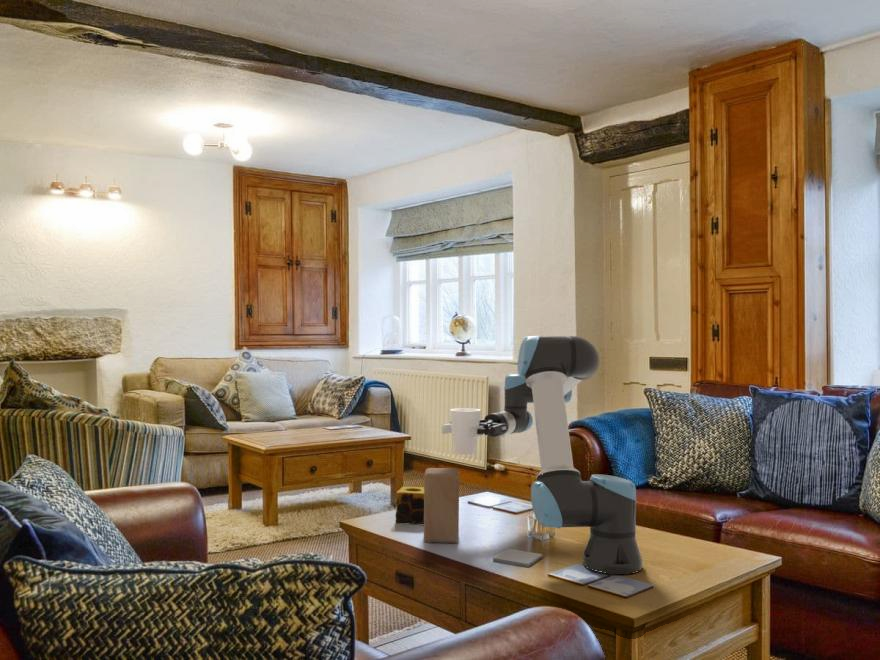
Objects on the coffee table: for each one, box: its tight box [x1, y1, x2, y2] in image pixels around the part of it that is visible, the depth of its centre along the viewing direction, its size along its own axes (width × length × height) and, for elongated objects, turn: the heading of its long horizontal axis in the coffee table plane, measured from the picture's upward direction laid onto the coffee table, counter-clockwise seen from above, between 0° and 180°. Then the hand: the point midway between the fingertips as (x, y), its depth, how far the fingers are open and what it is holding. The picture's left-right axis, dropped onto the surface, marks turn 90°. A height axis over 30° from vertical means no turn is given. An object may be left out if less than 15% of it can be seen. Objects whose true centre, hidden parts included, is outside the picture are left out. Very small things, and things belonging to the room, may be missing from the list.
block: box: [423, 467, 460, 544], centre depth 226 cm, size 10×10×20 cm
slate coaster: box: [493, 548, 544, 568], centre depth 207 cm, size 10×10×1 cm
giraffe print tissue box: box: [395, 486, 424, 525], centre depth 247 cm, size 10×10×10 cm
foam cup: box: [449, 407, 482, 455], centre depth 235 cm, size 10×9×13 cm
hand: (455, 430), depth 231 cm, fingers closed on foam cup, 9 cm apart
